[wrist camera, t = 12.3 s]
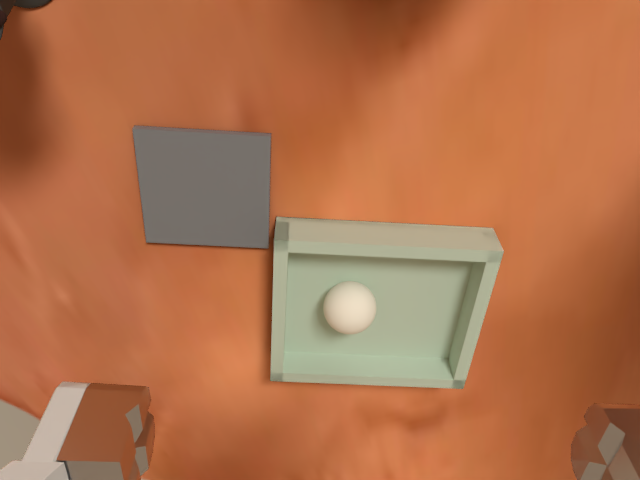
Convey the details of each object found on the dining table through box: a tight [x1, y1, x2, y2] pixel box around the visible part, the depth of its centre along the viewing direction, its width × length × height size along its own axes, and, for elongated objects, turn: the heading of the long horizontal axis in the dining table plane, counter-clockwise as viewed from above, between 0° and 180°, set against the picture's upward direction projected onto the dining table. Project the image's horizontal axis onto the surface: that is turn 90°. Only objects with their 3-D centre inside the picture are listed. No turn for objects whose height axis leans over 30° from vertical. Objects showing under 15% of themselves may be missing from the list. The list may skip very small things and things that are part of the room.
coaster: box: [133, 126, 271, 248], centre depth 41 cm, size 9×9×1 cm
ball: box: [323, 281, 376, 334], centre depth 44 cm, size 4×4×4 cm
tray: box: [270, 217, 504, 389], centre depth 46 cm, size 16×14×3 cm
